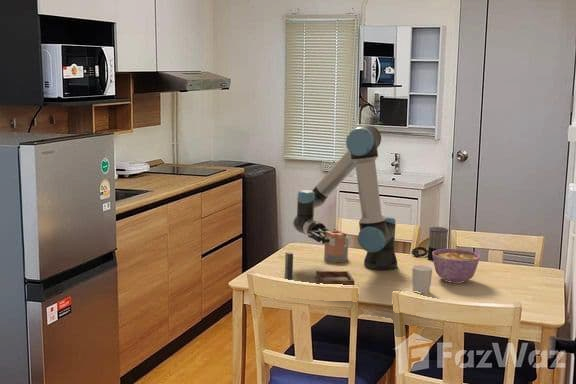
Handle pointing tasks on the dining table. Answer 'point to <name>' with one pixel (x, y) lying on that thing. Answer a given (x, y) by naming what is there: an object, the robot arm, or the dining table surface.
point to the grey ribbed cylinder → (434, 242)
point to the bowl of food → (455, 264)
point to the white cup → (421, 278)
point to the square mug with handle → (339, 242)
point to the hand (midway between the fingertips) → (341, 242)
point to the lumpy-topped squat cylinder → (337, 256)
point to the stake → (289, 265)
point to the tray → (334, 277)
